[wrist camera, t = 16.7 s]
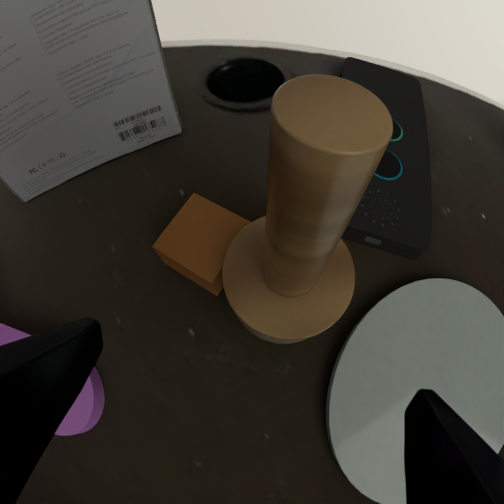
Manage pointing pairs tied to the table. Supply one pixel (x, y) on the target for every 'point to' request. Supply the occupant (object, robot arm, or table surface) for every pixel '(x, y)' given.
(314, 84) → the dish brush
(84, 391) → the bracket
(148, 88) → the hard drive box
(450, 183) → the table surface
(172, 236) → the orange square block
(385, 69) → the smart home device
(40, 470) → the table surface
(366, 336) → the plate
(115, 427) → the table surface
